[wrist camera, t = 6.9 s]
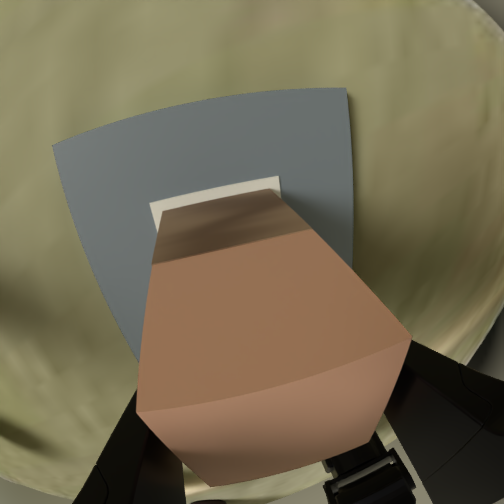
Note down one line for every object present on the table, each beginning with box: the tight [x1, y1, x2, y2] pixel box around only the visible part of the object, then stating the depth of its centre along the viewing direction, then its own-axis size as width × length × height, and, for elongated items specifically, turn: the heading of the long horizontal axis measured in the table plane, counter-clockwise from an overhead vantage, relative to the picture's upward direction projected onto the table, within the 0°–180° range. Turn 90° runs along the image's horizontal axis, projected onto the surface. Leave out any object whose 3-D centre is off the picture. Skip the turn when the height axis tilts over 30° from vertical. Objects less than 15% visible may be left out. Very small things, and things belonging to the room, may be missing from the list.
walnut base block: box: [151, 188, 312, 265], centre depth 12 cm, size 5×5×5 cm
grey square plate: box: [52, 88, 353, 362], centre depth 15 cm, size 14×14×1 cm
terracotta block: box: [136, 230, 412, 487], centre depth 8 cm, size 5×5×5 cm
